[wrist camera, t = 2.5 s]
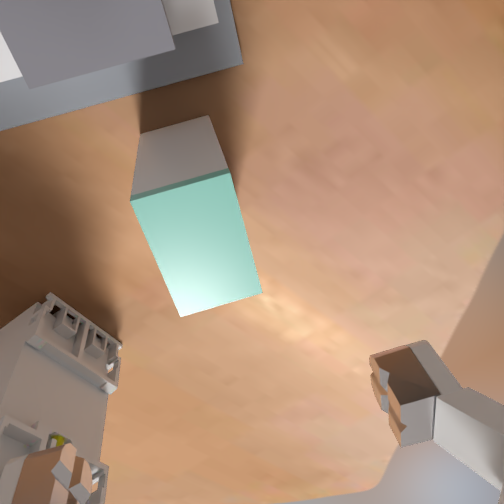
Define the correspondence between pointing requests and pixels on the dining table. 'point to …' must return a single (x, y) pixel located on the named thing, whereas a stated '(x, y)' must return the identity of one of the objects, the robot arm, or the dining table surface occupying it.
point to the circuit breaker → (56, 385)
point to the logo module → (192, 216)
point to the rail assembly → (105, 51)
